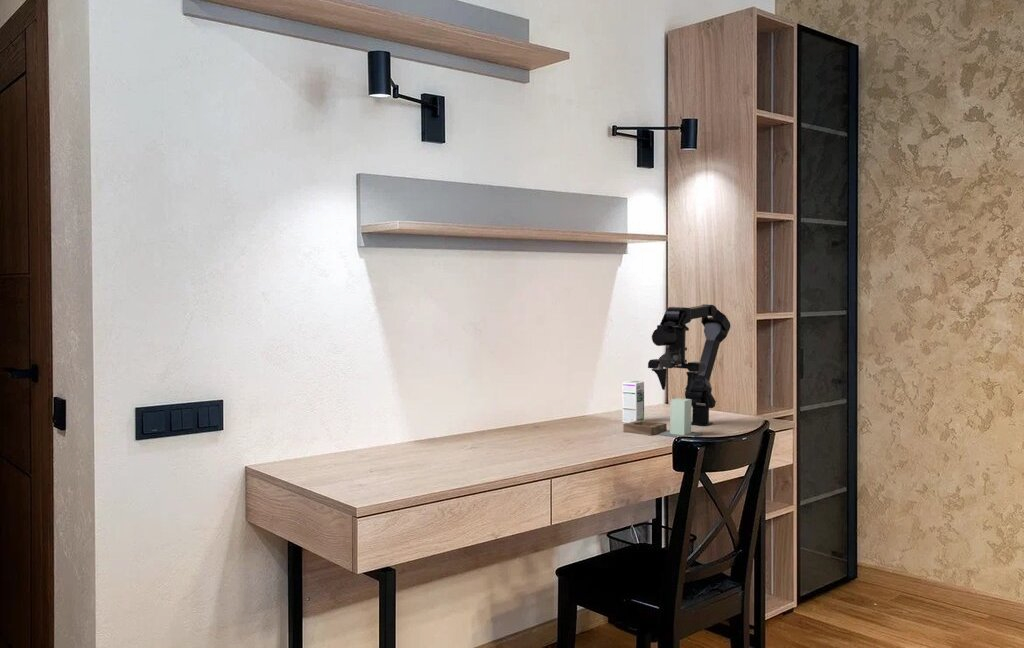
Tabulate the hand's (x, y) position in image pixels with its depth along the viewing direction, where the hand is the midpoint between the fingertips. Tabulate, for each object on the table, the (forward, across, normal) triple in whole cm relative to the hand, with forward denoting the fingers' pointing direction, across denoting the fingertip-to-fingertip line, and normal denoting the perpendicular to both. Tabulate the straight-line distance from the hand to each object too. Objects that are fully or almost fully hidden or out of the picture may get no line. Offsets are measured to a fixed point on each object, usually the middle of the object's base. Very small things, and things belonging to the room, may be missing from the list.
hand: (675, 390), depth 285 cm
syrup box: (+13, -18, +3) cm, 23 cm away
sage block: (+12, +6, -8) cm, 16 cm away
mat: (+13, +6, -8) cm, 16 cm away
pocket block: (+13, -6, -10) cm, 17 cm away
